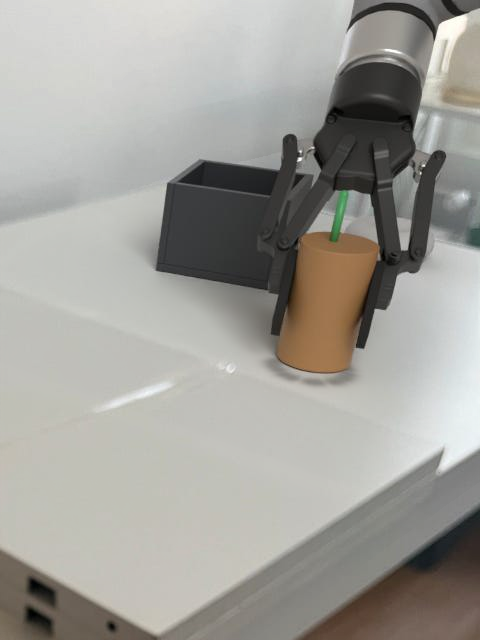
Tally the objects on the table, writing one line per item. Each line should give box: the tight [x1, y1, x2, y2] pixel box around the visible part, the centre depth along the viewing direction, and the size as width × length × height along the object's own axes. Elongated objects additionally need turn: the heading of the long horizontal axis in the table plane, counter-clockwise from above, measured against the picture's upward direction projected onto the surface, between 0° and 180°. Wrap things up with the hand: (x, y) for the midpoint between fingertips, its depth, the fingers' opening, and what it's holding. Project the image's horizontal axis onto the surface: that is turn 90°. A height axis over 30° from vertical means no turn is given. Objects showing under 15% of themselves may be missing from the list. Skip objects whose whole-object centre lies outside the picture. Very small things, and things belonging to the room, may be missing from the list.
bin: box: [155, 158, 315, 291], centre depth 110 cm, size 13×13×9 cm
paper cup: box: [276, 190, 380, 374], centre depth 87 cm, size 6×6×14 cm
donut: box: [343, 215, 436, 261], centre depth 117 cm, size 10×4×10 cm
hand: (318, 334), depth 86 cm, fingers closed on paper cup, 6 cm apart
